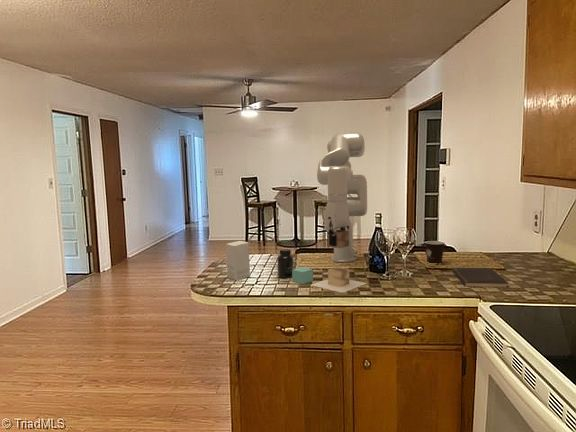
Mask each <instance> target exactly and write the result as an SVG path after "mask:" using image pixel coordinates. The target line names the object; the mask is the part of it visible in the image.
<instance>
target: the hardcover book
mask: <svg viewBox="0 0 576 432" xmlns="http://www.w3.org/2000/svg"><path fill="white" fill-rule="evenodd" d="M451 271H452V273H453V274H454V276H456V278H457V279H458V280H459V282H461V284H462V285H463V286H464V287H484V288H489V287H491V288H492V287H493V288H507V287H508V285H509V284H510V283H509V282H508V281H507V280H506V279H504V277H502V276H501V275H500V274H499V273H497V271H495V270H494V269H493V268H492V267H452V269H451Z"/></svg>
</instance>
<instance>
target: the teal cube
mask: <svg viewBox="0 0 576 432" xmlns="http://www.w3.org/2000/svg"><path fill="white" fill-rule="evenodd" d="M291 281H292V282H293V283H298V284H300V285H305V284H308V283H311V282H313V281H314V270H313V269H312V268H309V267H303V266H301V267H298V268H293V270H292V279H291Z"/></svg>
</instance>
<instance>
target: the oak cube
mask: <svg viewBox="0 0 576 432" xmlns="http://www.w3.org/2000/svg"><path fill="white" fill-rule="evenodd" d="M327 279H328V284H329V285H333V286H337V287H342V286H345V285H347V284H349V279H350V268H345V267H340V266H335V267H331V268H329V269H327Z"/></svg>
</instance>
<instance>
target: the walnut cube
mask: <svg viewBox="0 0 576 432" xmlns="http://www.w3.org/2000/svg"><path fill="white" fill-rule="evenodd" d="M332 231H333V229H332ZM326 233H327V232H326ZM326 235H327V237H326V238H327V239H326V241H327V247H329V248H333V249H334V248H343V247H347V246H349V231H346V230H336V234H335V236H336V246H330V245H329V235H328V233H327V234H326Z"/></svg>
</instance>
